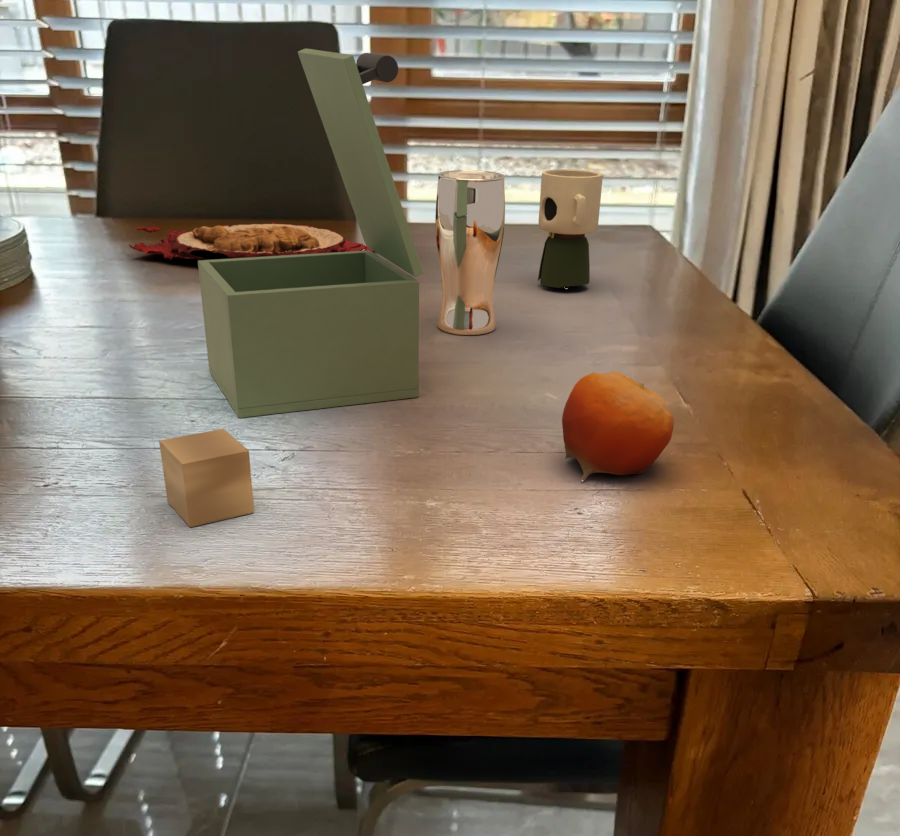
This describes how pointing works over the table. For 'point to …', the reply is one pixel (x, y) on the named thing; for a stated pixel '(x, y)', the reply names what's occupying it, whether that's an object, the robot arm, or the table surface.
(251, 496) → the block
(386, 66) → the chest door
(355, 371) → the chest
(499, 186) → the beer glass
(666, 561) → the table surface
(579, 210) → the character mug
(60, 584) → the table surface
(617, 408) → the fruit
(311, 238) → the plate with food
